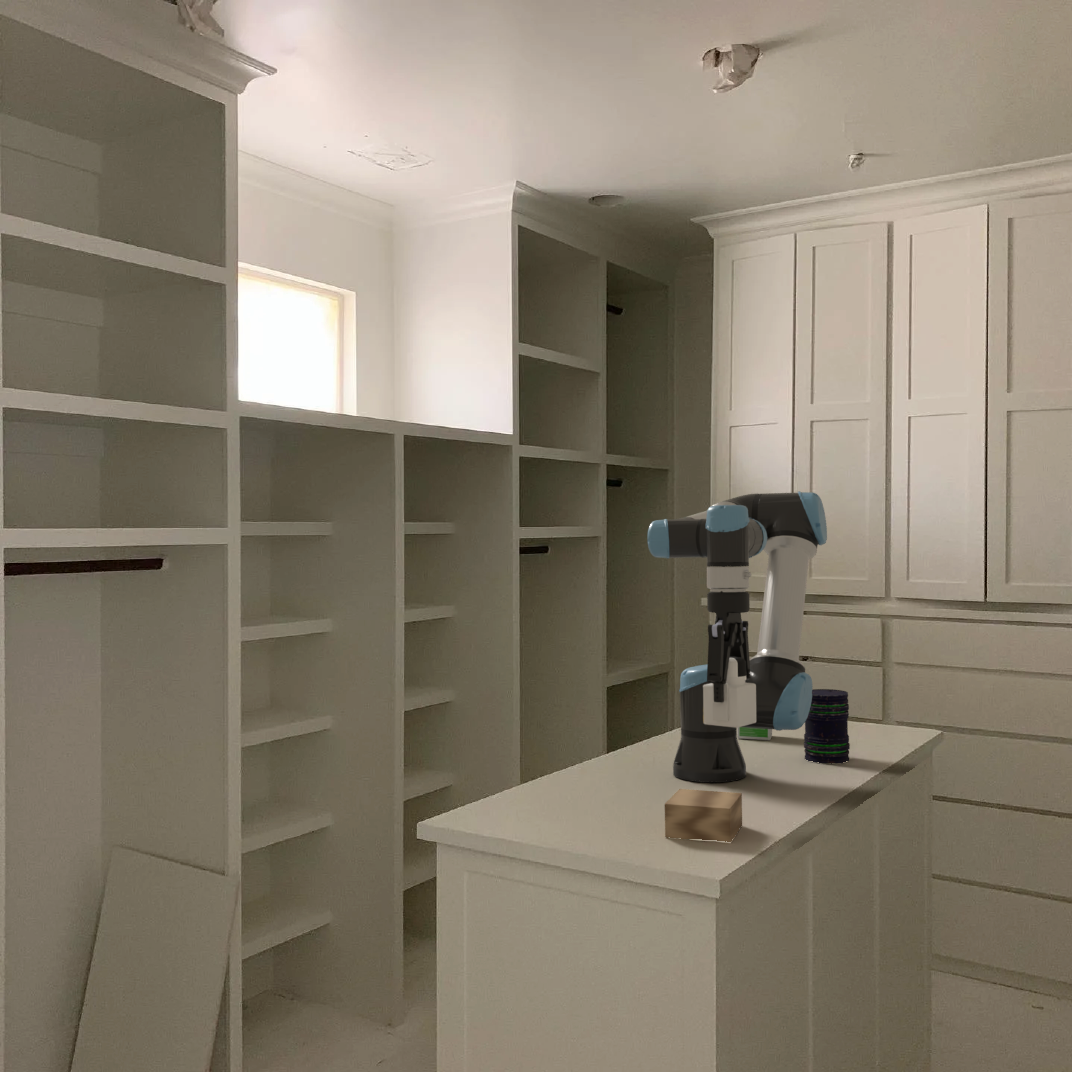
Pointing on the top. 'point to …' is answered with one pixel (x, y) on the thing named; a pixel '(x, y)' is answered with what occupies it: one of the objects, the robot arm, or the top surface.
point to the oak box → (703, 815)
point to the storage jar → (827, 727)
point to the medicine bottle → (733, 697)
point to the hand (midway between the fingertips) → (729, 717)
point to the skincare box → (754, 733)
